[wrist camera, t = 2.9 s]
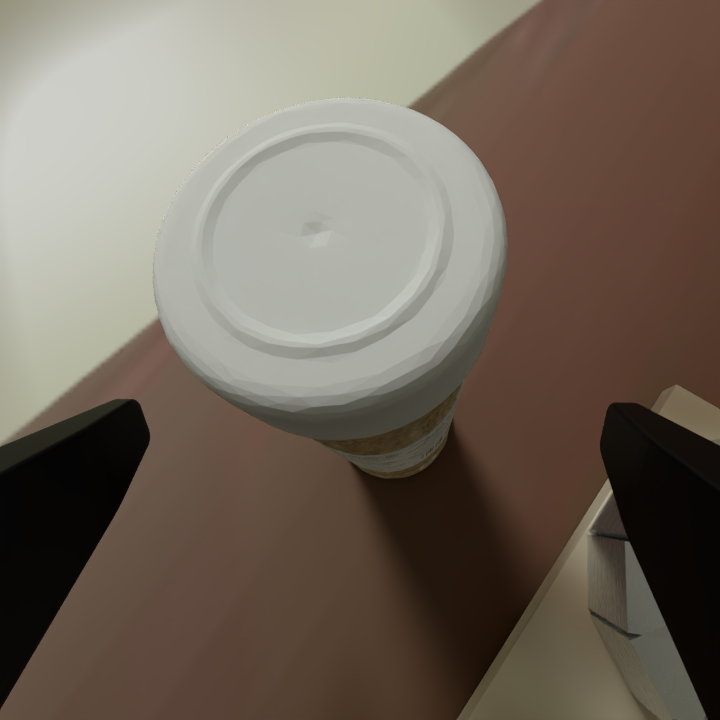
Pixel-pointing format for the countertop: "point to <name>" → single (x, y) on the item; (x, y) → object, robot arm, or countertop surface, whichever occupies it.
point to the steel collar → (635, 622)
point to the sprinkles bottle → (336, 276)
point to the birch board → (572, 626)
